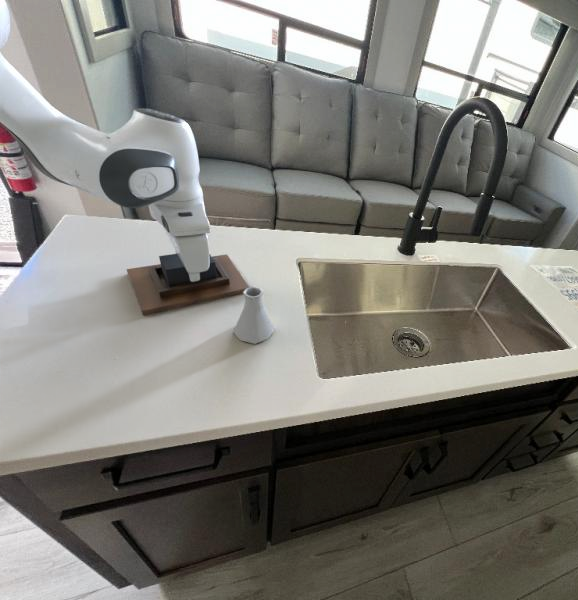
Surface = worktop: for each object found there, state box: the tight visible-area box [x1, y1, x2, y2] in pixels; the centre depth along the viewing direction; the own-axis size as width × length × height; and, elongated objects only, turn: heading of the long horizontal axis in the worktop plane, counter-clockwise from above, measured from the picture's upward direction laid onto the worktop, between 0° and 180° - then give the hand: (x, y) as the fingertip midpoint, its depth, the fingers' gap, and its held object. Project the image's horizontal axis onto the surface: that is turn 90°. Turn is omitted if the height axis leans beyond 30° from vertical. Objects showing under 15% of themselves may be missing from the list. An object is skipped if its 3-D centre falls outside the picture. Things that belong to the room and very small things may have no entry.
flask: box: [232, 286, 276, 345], centre depth 63 cm, size 7×7×10 cm
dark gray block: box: [158, 253, 217, 287], centre depth 70 cm, size 9×6×5 cm, turn 130°
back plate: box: [126, 253, 251, 316], centre depth 72 cm, size 20×15×3 cm
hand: (187, 267), depth 70 cm, fingers open, 8 cm apart
